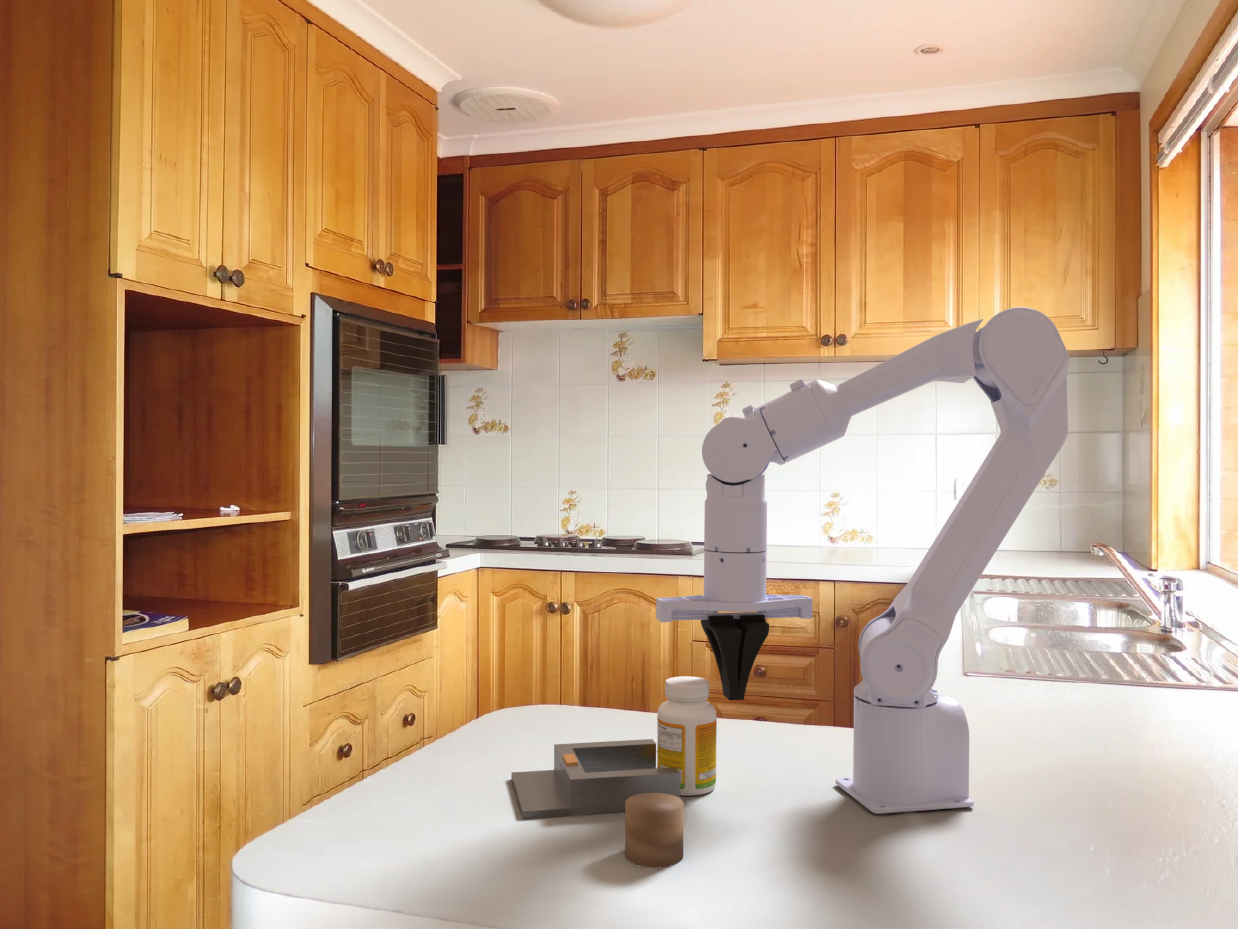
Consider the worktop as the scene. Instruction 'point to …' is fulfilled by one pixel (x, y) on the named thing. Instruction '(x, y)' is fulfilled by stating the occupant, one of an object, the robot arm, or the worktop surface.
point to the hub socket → (593, 779)
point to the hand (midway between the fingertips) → (733, 697)
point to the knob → (654, 829)
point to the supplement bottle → (688, 734)
